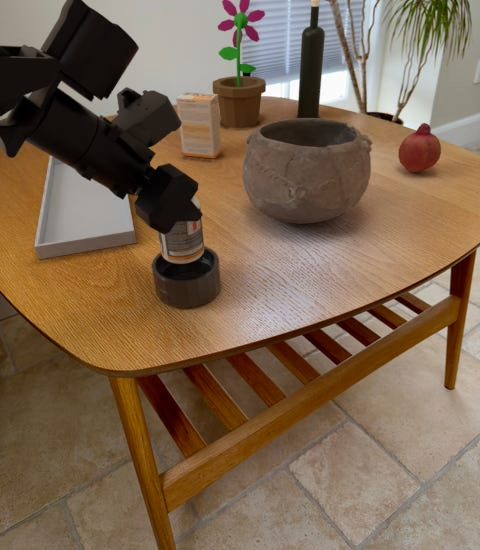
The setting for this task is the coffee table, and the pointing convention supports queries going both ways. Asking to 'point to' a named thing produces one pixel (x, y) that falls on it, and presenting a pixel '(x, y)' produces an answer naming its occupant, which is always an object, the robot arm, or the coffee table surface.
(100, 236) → the serving dish
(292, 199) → the clay pot
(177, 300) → the charcoal bowl
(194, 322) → the coffee table surface
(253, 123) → the flowerpot
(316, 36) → the wine bottle
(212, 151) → the supplement box
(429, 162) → the fruit
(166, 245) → the pill bottle
